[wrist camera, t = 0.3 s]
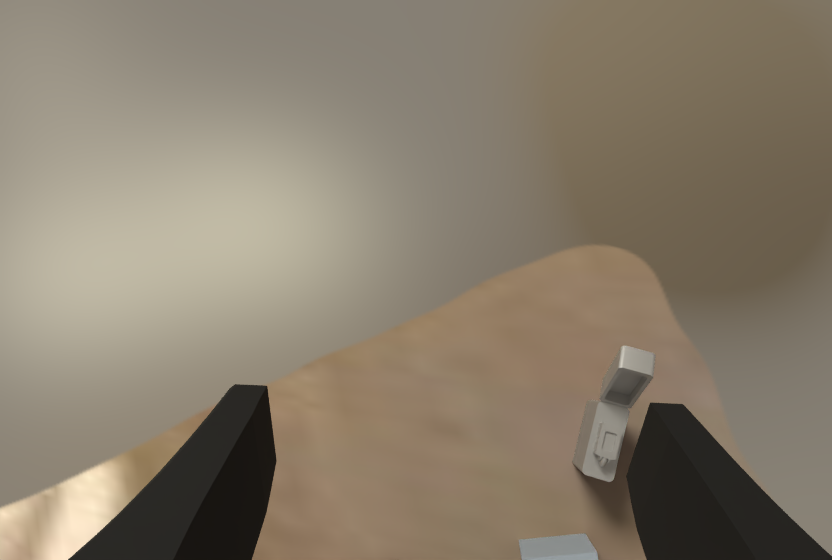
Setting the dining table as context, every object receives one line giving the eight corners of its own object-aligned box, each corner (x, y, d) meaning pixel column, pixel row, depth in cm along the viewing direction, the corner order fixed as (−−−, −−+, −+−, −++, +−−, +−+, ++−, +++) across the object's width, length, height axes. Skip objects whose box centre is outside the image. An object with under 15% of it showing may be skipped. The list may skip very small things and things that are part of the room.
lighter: (599, 472, 39) (627, 494, 31) (571, 464, 39) (591, 483, 31) (626, 360, 40) (659, 353, 32) (599, 352, 40) (624, 343, 32)
